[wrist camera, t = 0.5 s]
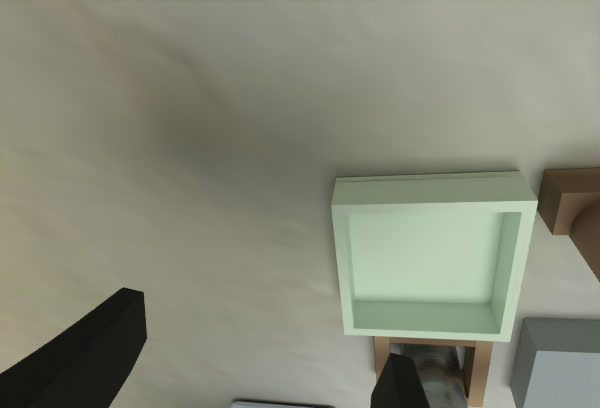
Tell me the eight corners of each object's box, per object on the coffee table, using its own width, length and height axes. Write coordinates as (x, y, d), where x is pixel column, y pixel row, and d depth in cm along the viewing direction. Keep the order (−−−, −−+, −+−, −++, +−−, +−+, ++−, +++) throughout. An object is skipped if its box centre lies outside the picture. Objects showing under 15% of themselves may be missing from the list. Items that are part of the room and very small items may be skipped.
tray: (497, 304, 22) (509, 341, 20) (347, 300, 23) (344, 334, 21) (519, 170, 18) (538, 200, 15) (336, 177, 19) (331, 205, 17)
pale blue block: (637, 388, 24) (662, 430, 22) (508, 381, 25) (520, 420, 23) (671, 316, 21) (704, 357, 19) (522, 313, 22) (537, 350, 20)
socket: (476, 379, 25) (482, 407, 24) (377, 373, 26) (377, 399, 25) (486, 310, 22) (494, 336, 20) (374, 307, 23) (374, 331, 22)
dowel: (453, 363, 25) (476, 491, 19) (399, 360, 25) (405, 483, 19) (457, 327, 23) (483, 455, 17) (399, 324, 24) (405, 447, 18)
